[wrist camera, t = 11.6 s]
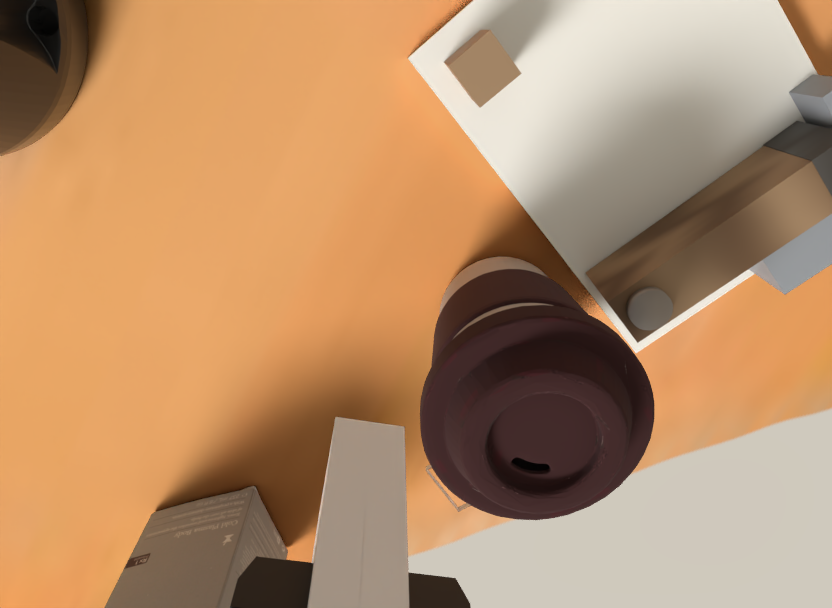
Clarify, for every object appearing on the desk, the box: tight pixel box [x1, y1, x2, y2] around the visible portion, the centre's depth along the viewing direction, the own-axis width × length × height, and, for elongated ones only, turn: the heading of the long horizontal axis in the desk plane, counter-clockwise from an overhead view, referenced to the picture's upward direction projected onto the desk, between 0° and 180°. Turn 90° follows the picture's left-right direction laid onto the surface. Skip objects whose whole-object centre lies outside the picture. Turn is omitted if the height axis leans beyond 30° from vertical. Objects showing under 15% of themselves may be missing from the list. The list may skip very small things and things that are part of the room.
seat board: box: [408, 0, 832, 353], centre depth 34 cm, size 22×16×5 cm
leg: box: [585, 121, 832, 343], centre depth 34 cm, size 14×3×5 cm, turn 129°
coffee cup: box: [420, 257, 654, 520], centre depth 33 cm, size 10×10×15 cm
